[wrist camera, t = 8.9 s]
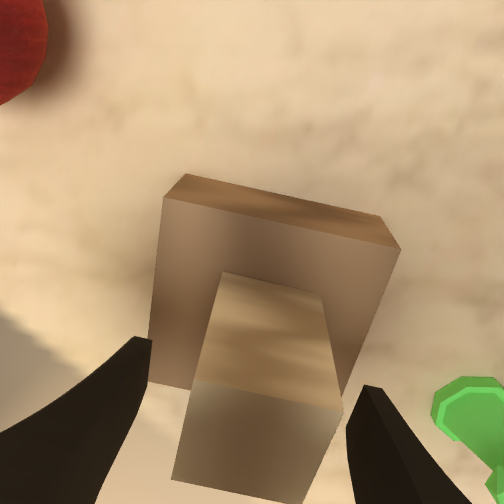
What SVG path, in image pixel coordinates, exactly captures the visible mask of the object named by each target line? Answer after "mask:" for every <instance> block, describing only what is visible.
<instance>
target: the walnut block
mask: <svg viewBox="0 0 504 504" xmlns="http://www.w3.org/2000/svg"><path fill="white" fill-rule="evenodd" d="M400 251H401V248H400V247H399V245H398V244H397V242H396V240H395V239H394V237H393V236H392V234H391V233H390V231H389V230H388V228H387V227H386V225H385V224H384V222H383V221H382V219H381V217H380V216H376V215H371V214H367V213H362V212H358V211H353V210H349V209H344V208H339V207H335V206H330V205H326V204H321V203H317V202H312V201H308V200H303V199H298V198H294V197H289V196H285V195H280V194H276V193H271V192H267V191H262V190H258V189H253V188H248V187H244V186H239V185H235V184H230V183H226V182H221V181H217V180H212V179H207V178H203V177H198V176H194V175H189V174H185V175H184V176H183V177H182V178H181V179H180V180H179V181H178V182H177V183H176V184H175V185H174V186H173V188H172V189H171V190H170V191H169V192H168V193H167V194H166V195H165V196H164V197H163V206H162V214H161V223H160V232H159V241H158V250H157V259H156V268H155V277H154V286H153V294H152V303H151V312H150V321H149V330H148V339H150V340H153V341H152V350H151V358H150V366H149V375H148V381H149V382H154V383H158V384H163V385H168V386H173V387H177V388H182V389H187V390H191V389H192V384H193V380H194V376H195V372H196V369H197V365H198V361H199V357H200V354H201V350H202V346H203V343H204V339H205V335H206V331H207V328H208V324H209V320H210V316H211V313H212V309H213V305H214V301H215V298H216V294H217V290H218V286H219V283H220V279H221V275H222V271H223V272H228V273H232V274H236V275H240V276H245V277H249V278H253V279H257V280H261V281H266V282H270V283H274V284H278V285H283V286H287V287H291V288H295V289H300V290H304V291H308V292H312V293H317V294H321V299H322V304H323V309H324V314H325V319H326V324H327V329H328V334H329V339H330V344H331V349H332V354H333V359H334V364H335V369H336V375H337V380H338V385H339V390H340V395H341V397H342V394H343V392H344V389H345V387H346V384H347V382H348V379H349V377H350V374H351V372H352V370H353V367H354V365H355V362H356V360H357V357H358V355H359V352H360V350H361V347H362V345H363V342H364V340H365V337H366V335H367V333H368V330H369V328H370V325H371V323H372V320H373V318H374V315H375V313H376V310H377V308H378V305H379V303H380V300H381V298H382V296H383V293H384V291H385V288H386V286H387V283H388V281H389V278H390V276H391V273H392V271H393V268H394V266H395V263H396V261H397V259H398V256H399V254H400Z"/></svg>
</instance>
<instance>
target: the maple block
mask: <svg viewBox="0 0 504 504" xmlns="http://www.w3.org/2000/svg"><path fill="white" fill-rule="evenodd" d="M343 414H344V410H343V405H342V400H341V395H340V390H339V385H338V380H337V375H336V369H335V364H334V359H333V354H332V349H331V344H330V339H329V334H328V329H327V324H326V319H325V314H324V309H323V304H322V299H321V294H317V293H312V292H308V291H304V290H300V289H295V288H291V287H287V286H283V285H278V284H274V283H270V282H266V281H261V280H257V279H253V278H249V277H245V276H240V275H236V274H232V273H228V272H223V271H222V275H221V279H220V283H219V286H218V290H217V294H216V298H215V301H214V305H213V309H212V313H211V316H210V320H209V324H208V328H207V331H206V335H205V339H204V343H203V346H202V350H201V354H200V357H199V361H198V365H197V369H196V372H195V376H194V380H193V384H192V389H191V393H190V398H189V402H188V406H187V411H186V415H185V420H184V424H183V428H182V433H181V437H180V442H179V446H178V450H177V455H176V459H175V464H174V468H173V473H172V477H171V480H176V481H181V482H185V483H190V484H195V485H200V486H204V487H210V488H214V489H219V490H223V491H228V492H233V493H238V494H243V495H247V496H252V497H257V498H262V499H266V500H271V501H276V502H281V503H286V504H302V503H303V501H304V499H305V496H306V494H307V492H308V490H309V488H310V486H311V483H312V481H313V479H314V477H315V475H316V472H317V470H318V468H319V466H320V464H321V462H322V459H323V457H324V455H325V453H326V451H327V449H328V446H329V444H330V442H331V440H332V438H333V436H334V433H335V431H336V429H337V427H338V425H339V423H340V420H341V418H342V416H343Z"/></svg>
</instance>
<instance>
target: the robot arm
mask: <svg viewBox="0 0 504 504" xmlns="http://www.w3.org/2000/svg"><path fill="white" fill-rule="evenodd" d="M152 341H153V340H150V339H146V338H141V337H136V336H134V337H132V338H131V339H130V340H129V341H128V342H127V343H126V344H124V345H123V346H122V347H121V348H120V349H119V350H118V351H117V352H116V353H115V354H114V355H113V356H111V357H110V358H109V359H108V360H107V361H106V362H105V363H103V364H102V365H101V366H100V367H99V368H97V369H96V370H95V371H94V372H92V373H91V374H90V375H89V376H88V377H86V378H85V379H84V380H82V381H81V382H80V383H78V384H77V385H76V386H74V387H73V388H72V389H70V390H69V391H68V392H66V393H65V394H63V395H62V396H61V397H59V398H58V399H56V400H55V401H53V402H52V403H50V404H49V405H47V406H46V407H44V408H42V409H41V410H39V411H38V412H36V413H34V414H33V415H31V416H29V417H27V418H26V419H24V420H22V421H21V422H19V423H17V424H15V425H14V426H12V427H10V428H8V429H6V430H4V431H2V432H1V433H0V504H95V501H96V499H97V496H98V494H99V491H100V489H101V487H102V485H103V483H104V480H105V478H106V476H107V474H108V472H109V470H110V468H111V466H112V464H113V462H114V460H115V458H116V456H117V454H118V452H119V450H120V448H121V446H122V444H123V442H124V440H125V438H126V436H127V434H128V432H129V430H130V428H131V426H132V423H133V421H134V419H135V417H136V415H137V413H138V410H139V407H140V405H141V402H142V399H143V396H144V393H145V391H146V388H147V383H148V375H149V366H150V358H151V350H152ZM346 444H347V458H348V464H349V470H350V475H351V481H352V486H353V492H354V497H355V502H356V504H472V503H471V502H470V501H469V500H468V499H467V498H466V496H465V495H464V494H463V493H462V492H461V491H460V490H459V489H458V488H457V487H456V486H455V484H454V483H453V482H452V481H451V480H450V479H449V477H448V476H447V475H446V474H445V473H444V471H443V470H442V469H441V468H440V467H439V465H438V464H437V463H436V462H435V460H434V459H433V458H432V457H431V455H430V454H429V453H428V452H427V450H426V449H425V448H424V446H423V445H422V444H421V442H420V441H419V440H418V438H417V437H416V436H415V434H414V433H413V431H412V430H411V429H410V427H409V426H408V425H407V423H406V422H405V420H404V419H403V417H402V416H401V415H400V413H399V412H398V410H397V409H396V407H395V406H394V405H393V403H392V402H391V400H390V399H389V397H388V396H387V395H386V393H385V392H384V391H383V389H382V388H378V387H373V386H368V385H364V386H363V389H362V391H361V393H360V395H359V398H358V400H357V402H356V405H355V407H354V409H353V412H352V414H351V416H350V419H349V421H348V423H347V425H346Z"/></svg>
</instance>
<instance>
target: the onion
mask: <svg viewBox="0 0 504 504" xmlns="http://www.w3.org/2000/svg"><path fill="white" fill-rule="evenodd" d="M48 30H49V27H48V22H47V18H46V14H45V10H44V5H43V1H42V0H0V105H2V104H4V103H6V102H8V101H9V100H11V99H12V98H14V97H15V96H17V95H18V94H20V93H21V92H23V91H24V90H26V89H27V88H29V87H30V86H32V85H33V83H34V81H35V79H36V77H37V74H38V72H39V70H40V68H41V66H42V64H43V62H44V60H45V58H46V48H47V39H48Z"/></svg>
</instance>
